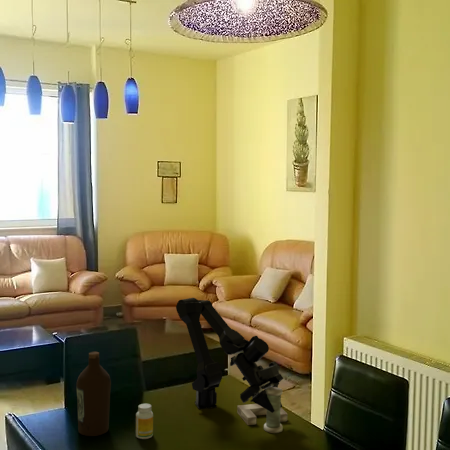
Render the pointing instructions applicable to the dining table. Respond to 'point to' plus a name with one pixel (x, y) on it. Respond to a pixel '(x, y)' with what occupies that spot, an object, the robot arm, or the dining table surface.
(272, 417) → the bobbin
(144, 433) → the supplement bottle
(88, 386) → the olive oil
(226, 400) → the dining table surface
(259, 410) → the notched board
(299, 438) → the dining table surface
